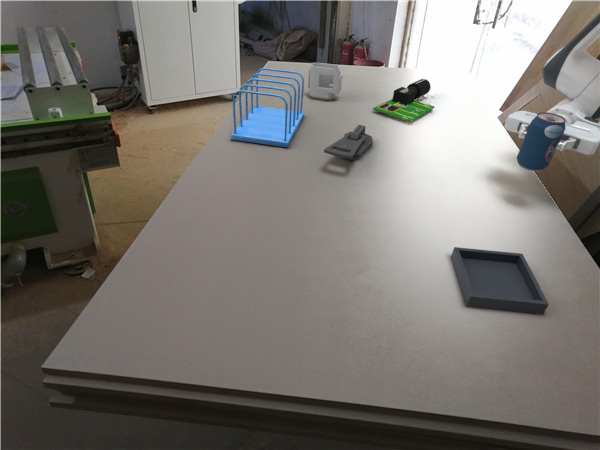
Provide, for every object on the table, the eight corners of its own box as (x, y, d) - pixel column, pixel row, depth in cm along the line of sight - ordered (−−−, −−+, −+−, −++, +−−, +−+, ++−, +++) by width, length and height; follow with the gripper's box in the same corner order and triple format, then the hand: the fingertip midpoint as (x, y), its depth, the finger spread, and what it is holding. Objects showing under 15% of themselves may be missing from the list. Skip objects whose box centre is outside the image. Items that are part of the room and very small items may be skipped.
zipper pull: (320, 149, 105) (349, 116, 124) (318, 171, 109) (347, 136, 128) (353, 156, 103) (378, 122, 121) (350, 179, 107) (374, 142, 125)
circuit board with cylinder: (413, 105, 133) (374, 93, 141) (409, 125, 137) (371, 112, 145) (451, 85, 152) (415, 76, 159) (446, 103, 156) (411, 93, 164)
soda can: (546, 175, 92) (570, 125, 85) (514, 168, 94) (534, 119, 87) (546, 162, 97) (568, 115, 90) (515, 156, 100) (534, 108, 92)
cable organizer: (337, 102, 151) (341, 70, 144) (305, 98, 153) (307, 65, 146) (340, 97, 156) (344, 65, 149) (309, 92, 159) (311, 61, 151)
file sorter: (287, 148, 119) (288, 97, 110) (231, 141, 122) (228, 90, 112) (304, 117, 139) (306, 71, 130) (255, 111, 141) (254, 65, 132)
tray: (517, 263, 83) (522, 253, 81) (543, 314, 72) (549, 304, 70) (450, 256, 84) (454, 246, 82) (465, 306, 73) (470, 296, 71)
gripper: (521, 100, 103) (499, 114, 95) (612, 125, 92) (596, 143, 84) (512, 124, 107) (491, 139, 99) (599, 150, 96) (583, 169, 88)
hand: (540, 141), depth 91 cm, fingers closed on soda can, 7 cm apart
